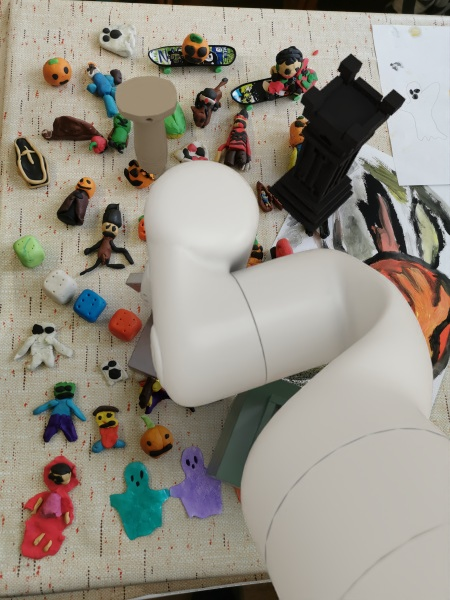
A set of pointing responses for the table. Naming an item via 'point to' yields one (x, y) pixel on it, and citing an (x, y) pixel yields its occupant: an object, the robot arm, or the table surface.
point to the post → (246, 428)
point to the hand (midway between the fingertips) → (192, 323)
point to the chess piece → (332, 143)
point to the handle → (148, 118)
